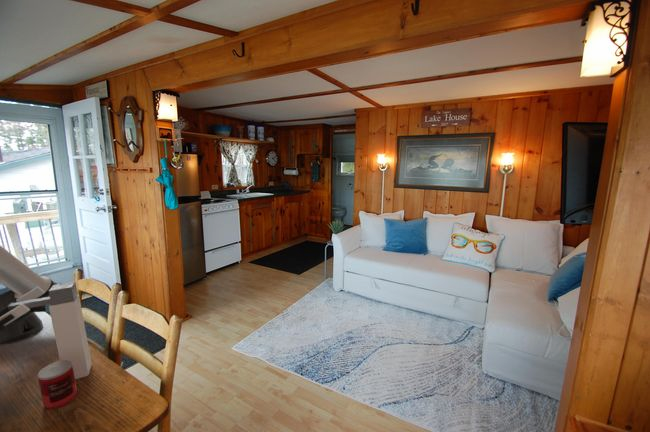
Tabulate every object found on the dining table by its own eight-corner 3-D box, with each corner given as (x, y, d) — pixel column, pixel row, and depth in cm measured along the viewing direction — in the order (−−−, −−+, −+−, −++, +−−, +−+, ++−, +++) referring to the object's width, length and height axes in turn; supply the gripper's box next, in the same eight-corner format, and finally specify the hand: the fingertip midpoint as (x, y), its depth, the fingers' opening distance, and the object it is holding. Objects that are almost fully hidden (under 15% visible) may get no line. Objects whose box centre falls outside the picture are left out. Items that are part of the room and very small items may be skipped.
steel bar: (13, 306, 89) (10, 292, 88) (77, 295, 97) (75, 281, 96) (6, 314, 85) (3, 298, 84) (74, 301, 93) (71, 287, 92)
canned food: (60, 389, 92) (54, 359, 90) (84, 389, 92) (78, 360, 90) (36, 409, 85) (29, 377, 82) (62, 410, 84) (55, 378, 82)
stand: (69, 371, 100) (54, 298, 94) (91, 364, 103) (78, 294, 97) (64, 382, 95) (48, 306, 89) (88, 375, 98) (74, 301, 92)
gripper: (-13, 332, 94) (55, 290, 101) (-61, 382, 73) (29, 324, 80) (-35, 318, 91) (37, 275, 98) (-91, 365, 70) (6, 307, 77)
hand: (34, 297), depth 89 cm, fingers open, 12 cm apart
